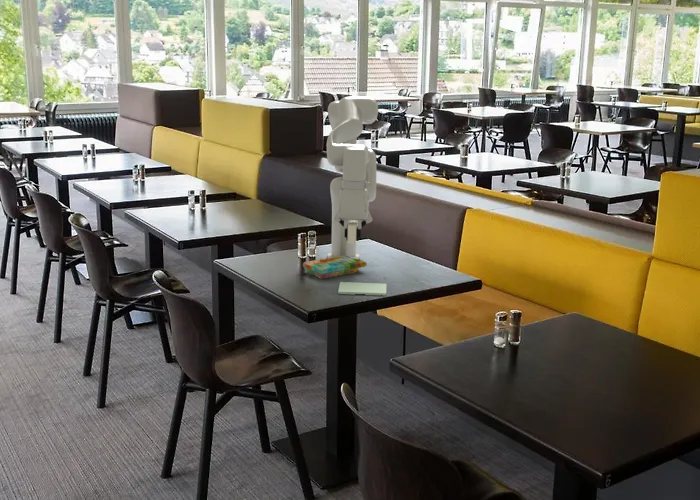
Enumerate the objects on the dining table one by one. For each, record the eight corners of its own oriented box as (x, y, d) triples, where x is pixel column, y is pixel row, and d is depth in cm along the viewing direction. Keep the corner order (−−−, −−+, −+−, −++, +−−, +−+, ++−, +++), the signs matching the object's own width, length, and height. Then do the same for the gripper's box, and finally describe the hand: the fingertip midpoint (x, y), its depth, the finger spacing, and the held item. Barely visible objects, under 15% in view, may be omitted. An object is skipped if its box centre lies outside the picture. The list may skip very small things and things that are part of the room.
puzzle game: (302, 260, 285) (347, 253, 297) (302, 273, 286) (347, 265, 298) (321, 268, 276) (366, 260, 288) (321, 280, 277) (366, 272, 289)
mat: (340, 284, 273) (340, 281, 272) (386, 285, 272) (386, 283, 272) (337, 293, 262) (337, 291, 262) (386, 295, 261) (386, 293, 261)
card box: (349, 237, 267) (349, 220, 266) (357, 237, 267) (357, 220, 266) (347, 243, 259) (347, 225, 257) (355, 244, 259) (355, 226, 257)
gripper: (379, 184, 262) (377, 238, 266) (330, 182, 263) (329, 236, 267) (378, 188, 254) (376, 243, 259) (328, 186, 256) (327, 241, 260)
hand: (352, 239), depth 263 cm, fingers closed on card box, 2 cm apart
